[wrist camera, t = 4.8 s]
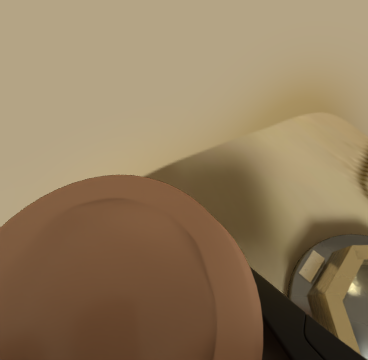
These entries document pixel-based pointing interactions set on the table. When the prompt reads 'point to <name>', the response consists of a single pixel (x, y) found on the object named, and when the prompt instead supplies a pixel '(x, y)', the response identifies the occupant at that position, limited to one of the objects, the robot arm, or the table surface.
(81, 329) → the vase
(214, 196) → the table surface
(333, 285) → the holder
